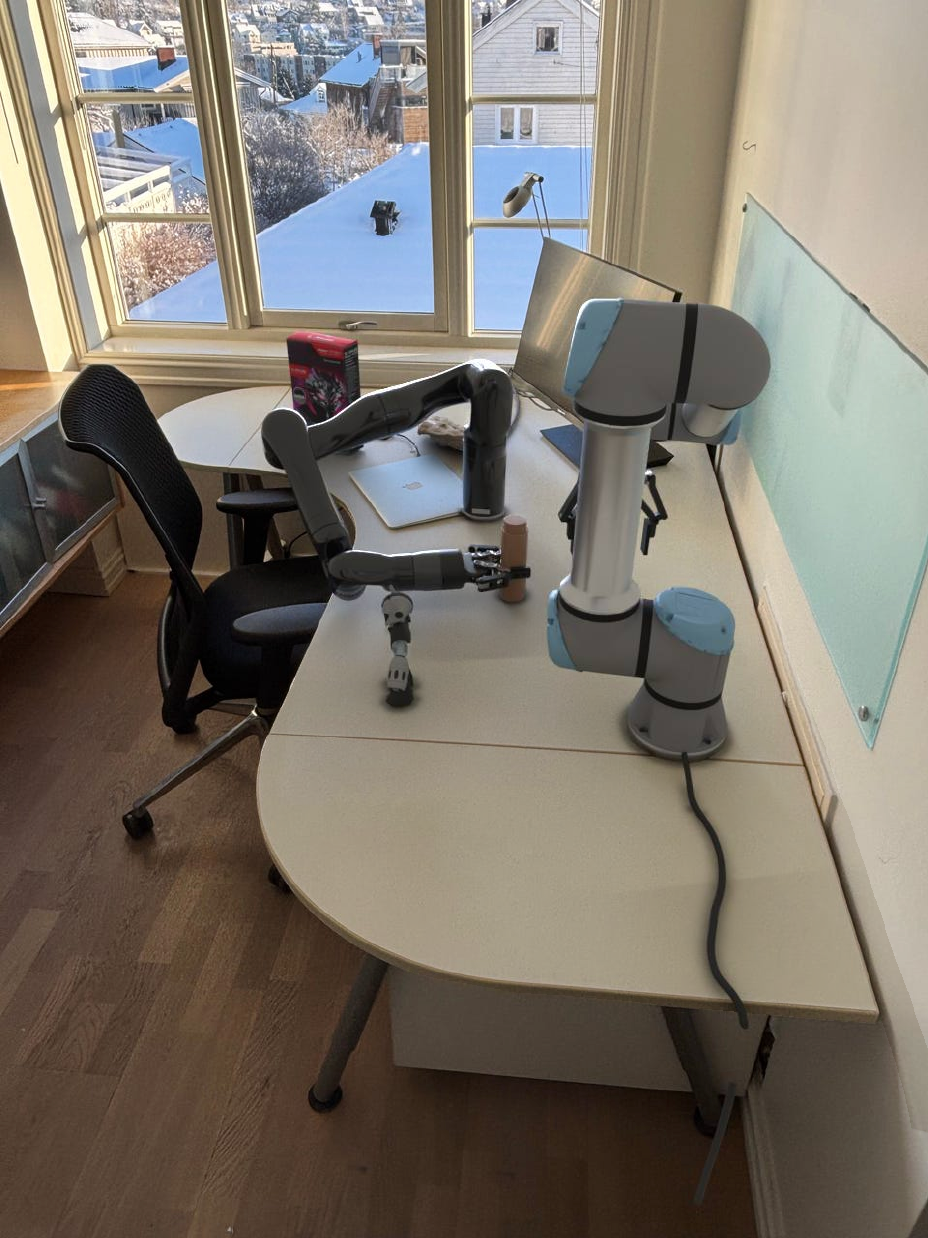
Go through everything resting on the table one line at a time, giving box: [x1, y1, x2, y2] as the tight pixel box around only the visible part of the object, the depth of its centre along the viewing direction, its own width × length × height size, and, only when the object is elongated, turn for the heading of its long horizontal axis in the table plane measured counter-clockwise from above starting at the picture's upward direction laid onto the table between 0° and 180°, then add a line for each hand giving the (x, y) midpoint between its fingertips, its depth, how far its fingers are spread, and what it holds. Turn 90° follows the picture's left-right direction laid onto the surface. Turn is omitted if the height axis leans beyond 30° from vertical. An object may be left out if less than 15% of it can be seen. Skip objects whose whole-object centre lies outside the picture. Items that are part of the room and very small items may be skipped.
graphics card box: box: [285, 330, 365, 456], centre depth 225 cm, size 17×7×27 cm, turn 62°
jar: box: [498, 514, 529, 603], centre depth 171 cm, size 5×5×16 cm
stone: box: [416, 415, 464, 452], centre depth 232 cm, size 21×15×6 cm
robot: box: [380, 581, 415, 709], centre depth 145 cm, size 20×5×20 cm, turn 3°
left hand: (527, 564), depth 172 cm, fingers closed on jar, 5 cm apart
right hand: (608, 553), depth 175 cm, fingers open, 13 cm apart
